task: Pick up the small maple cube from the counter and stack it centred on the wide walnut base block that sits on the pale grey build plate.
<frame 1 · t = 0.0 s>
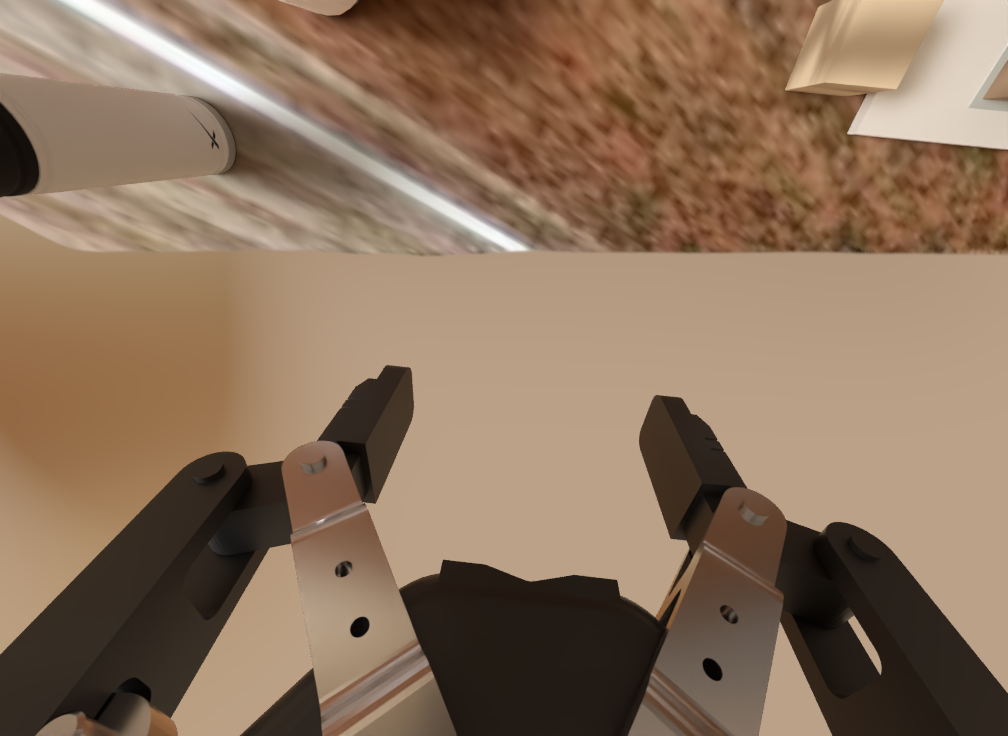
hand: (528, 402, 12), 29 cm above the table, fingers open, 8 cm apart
maple cube: (832, 53, 28), on the table
travel mug: (205, 135, 35), on the table
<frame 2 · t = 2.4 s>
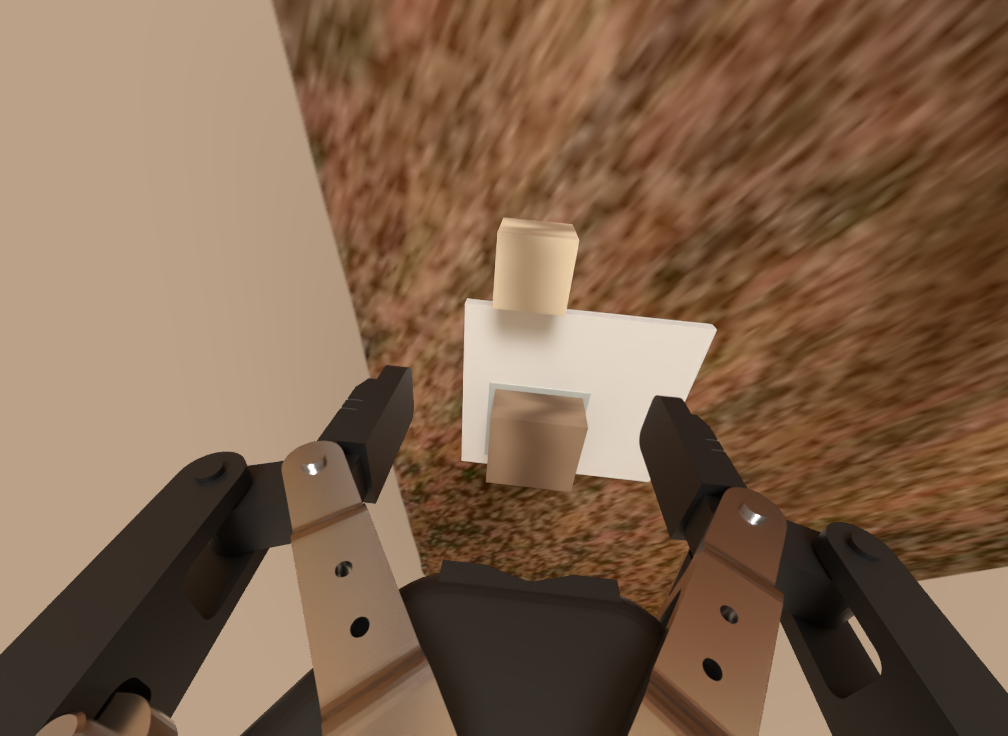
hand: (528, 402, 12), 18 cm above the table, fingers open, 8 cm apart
maple cube: (533, 255, 28), on the table
walnut base: (533, 426, 35), point 1 cm above the table, touching build plate
build plate: (569, 398, 34), on the table
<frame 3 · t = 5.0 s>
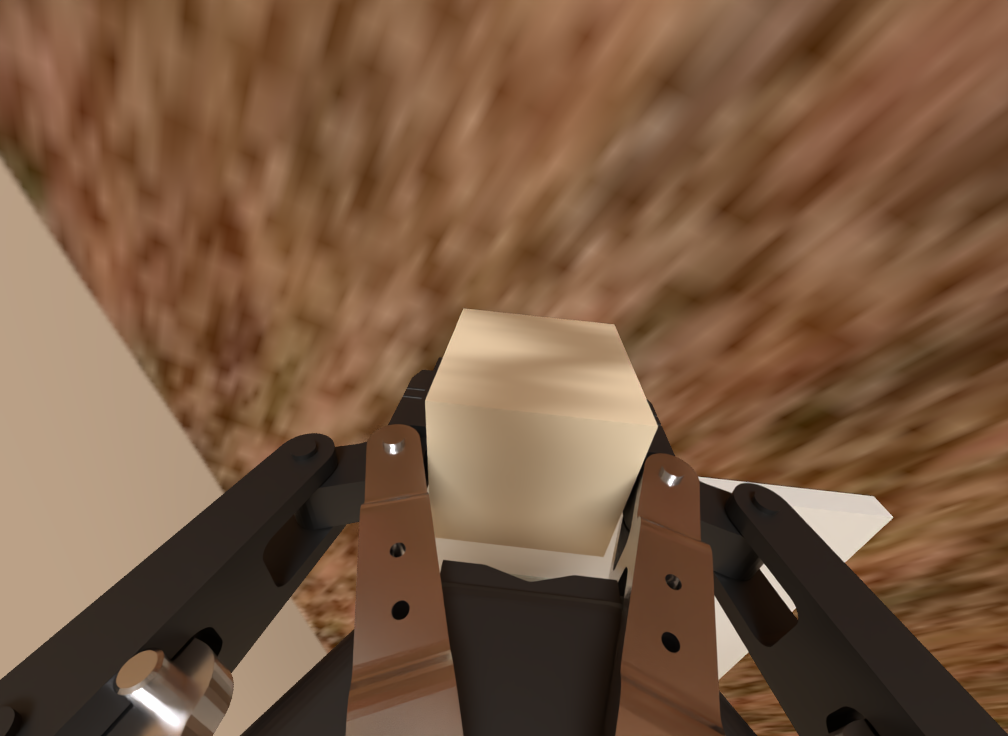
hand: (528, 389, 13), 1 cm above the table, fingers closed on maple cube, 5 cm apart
maple cube: (529, 378, 13), on the table, touching gripper
build plate: (590, 580, 20), on the table
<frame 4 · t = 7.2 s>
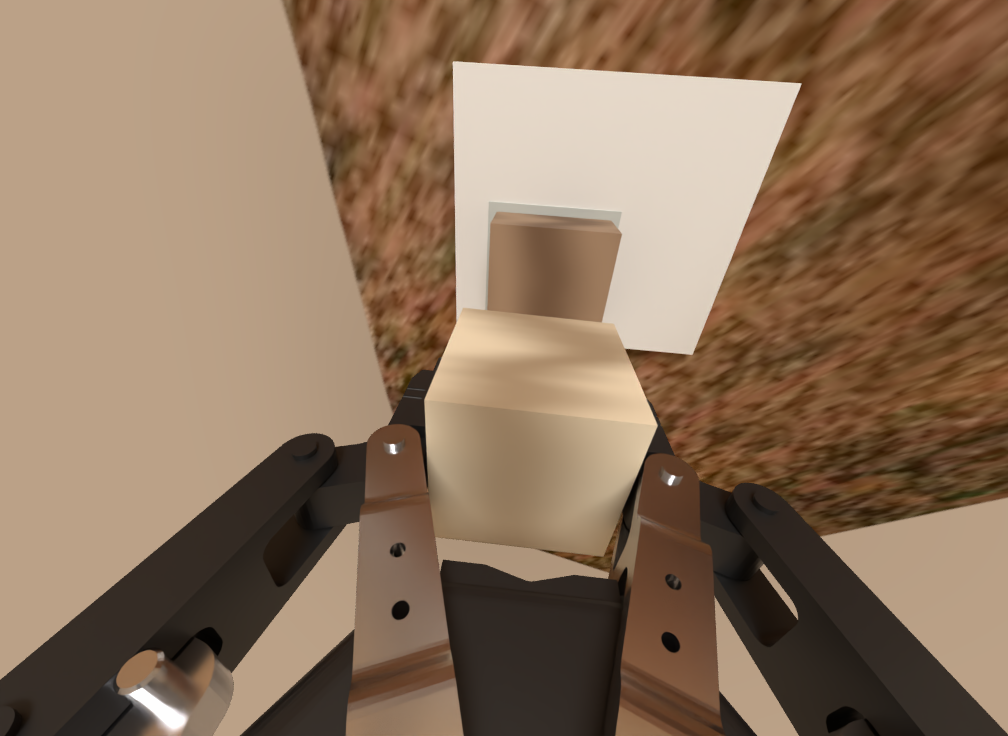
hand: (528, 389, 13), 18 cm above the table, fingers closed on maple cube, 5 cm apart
maple cube: (529, 378, 13), point 17 cm above the table, touching gripper
walnut base: (546, 271, 27), point 1 cm above the table, touching build plate
build plate: (592, 230, 27), on the table
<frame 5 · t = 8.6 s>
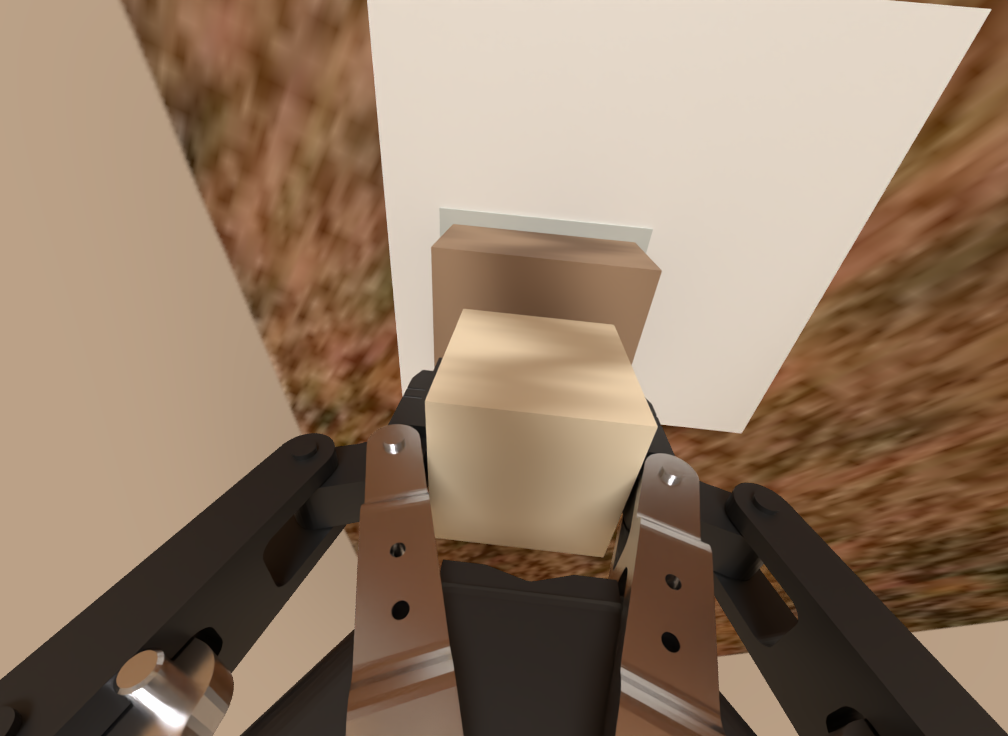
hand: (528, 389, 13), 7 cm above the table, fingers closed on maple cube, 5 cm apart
maple cube: (529, 378, 13), point 7 cm above the table, touching gripper
walnut base: (532, 316, 18), point 1 cm above the table, touching build plate
build plate: (602, 256, 17), on the table
when the fingers open (7 cm above the table, at t = 9.5 s): maple cube stays where it is, resting on walnut base.
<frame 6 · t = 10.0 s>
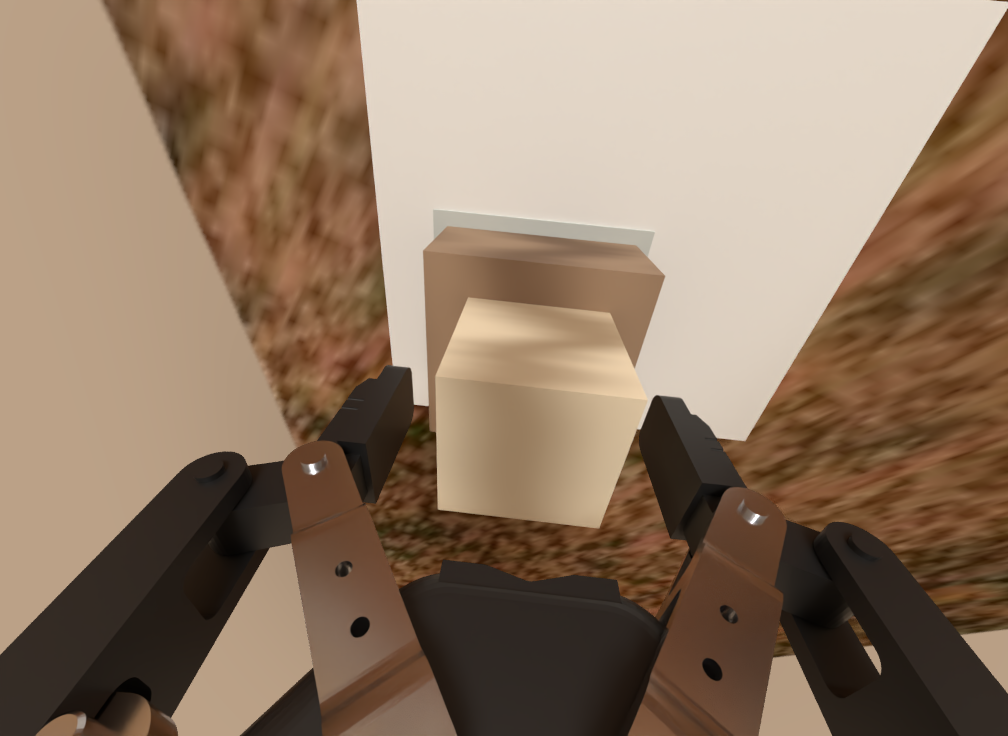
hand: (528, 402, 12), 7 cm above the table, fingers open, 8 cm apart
maple cube: (530, 365, 14), point 5 cm above the table, touching walnut base
walnut base: (530, 321, 17), point 1 cm above the table, touching build plate, maple cube
build plate: (602, 259, 17), on the table
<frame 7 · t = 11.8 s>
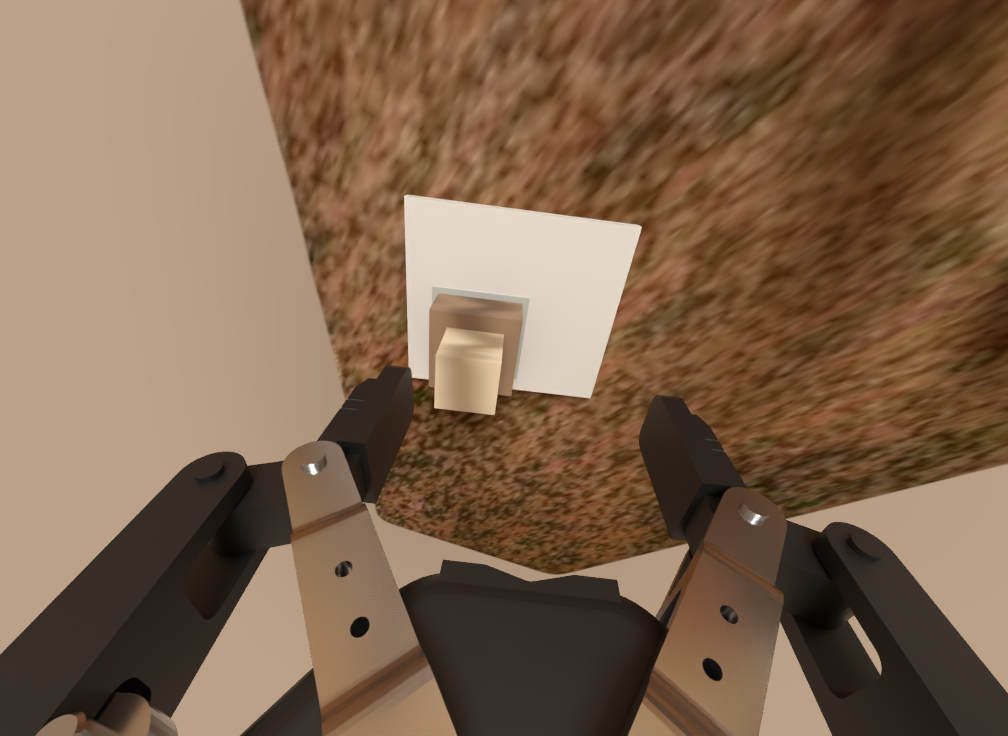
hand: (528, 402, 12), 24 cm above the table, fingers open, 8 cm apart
maple cube: (473, 355, 33), point 5 cm above the table, touching walnut base
walnut base: (477, 336, 36), point 1 cm above the table, touching build plate, maple cube
build plate: (510, 307, 36), on the table
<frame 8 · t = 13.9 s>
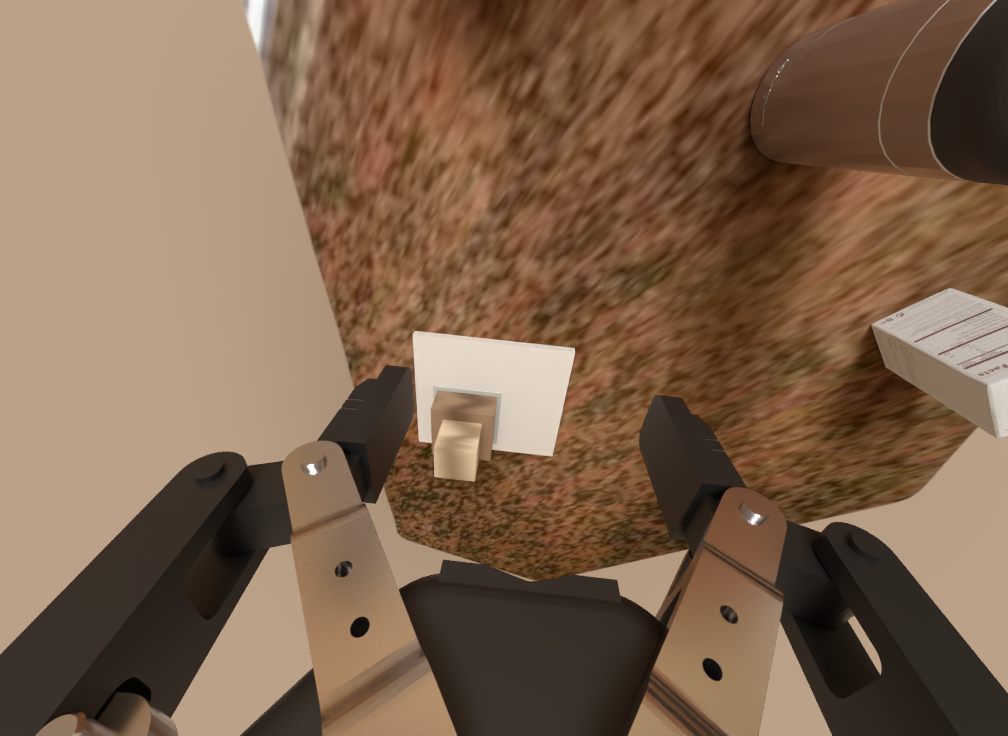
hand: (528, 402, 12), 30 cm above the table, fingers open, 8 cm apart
maple cube: (461, 436, 47), point 5 cm above the table, touching walnut base
walnut base: (466, 416, 51), point 1 cm above the table, touching build plate, maple cube
build plate: (489, 396, 50), on the table
supplement box: (912, 328, 41), on the table
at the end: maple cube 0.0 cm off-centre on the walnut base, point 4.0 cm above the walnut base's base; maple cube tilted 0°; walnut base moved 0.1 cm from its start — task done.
